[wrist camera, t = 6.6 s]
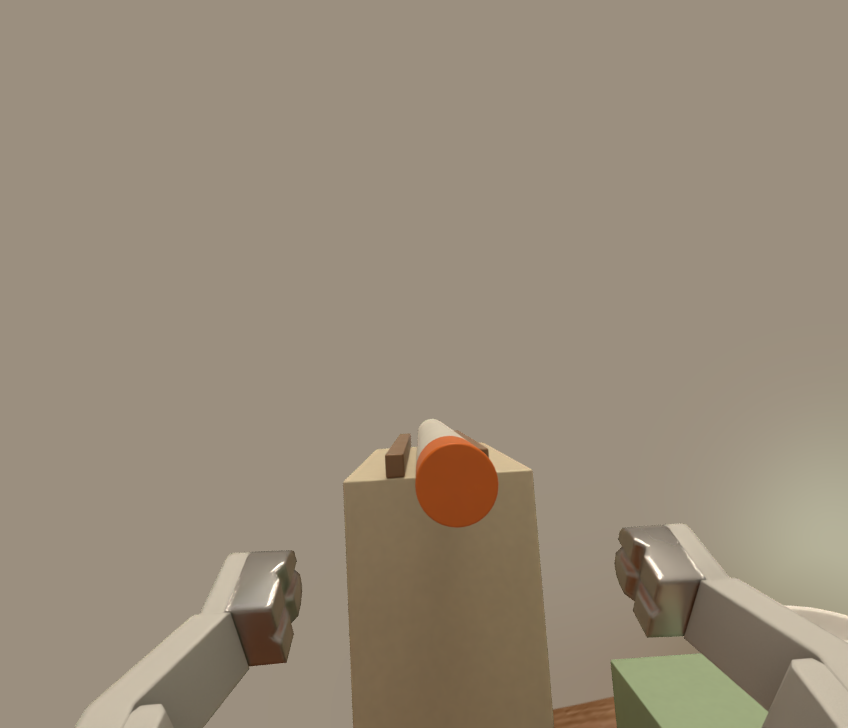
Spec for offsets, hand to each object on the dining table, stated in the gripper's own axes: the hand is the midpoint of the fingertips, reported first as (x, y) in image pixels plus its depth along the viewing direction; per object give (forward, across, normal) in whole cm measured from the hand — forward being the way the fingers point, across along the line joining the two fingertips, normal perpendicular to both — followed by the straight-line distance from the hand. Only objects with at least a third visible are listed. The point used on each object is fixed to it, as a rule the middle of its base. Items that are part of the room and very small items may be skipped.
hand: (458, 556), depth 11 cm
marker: (+8, 0, +4) cm, 9 cm away
